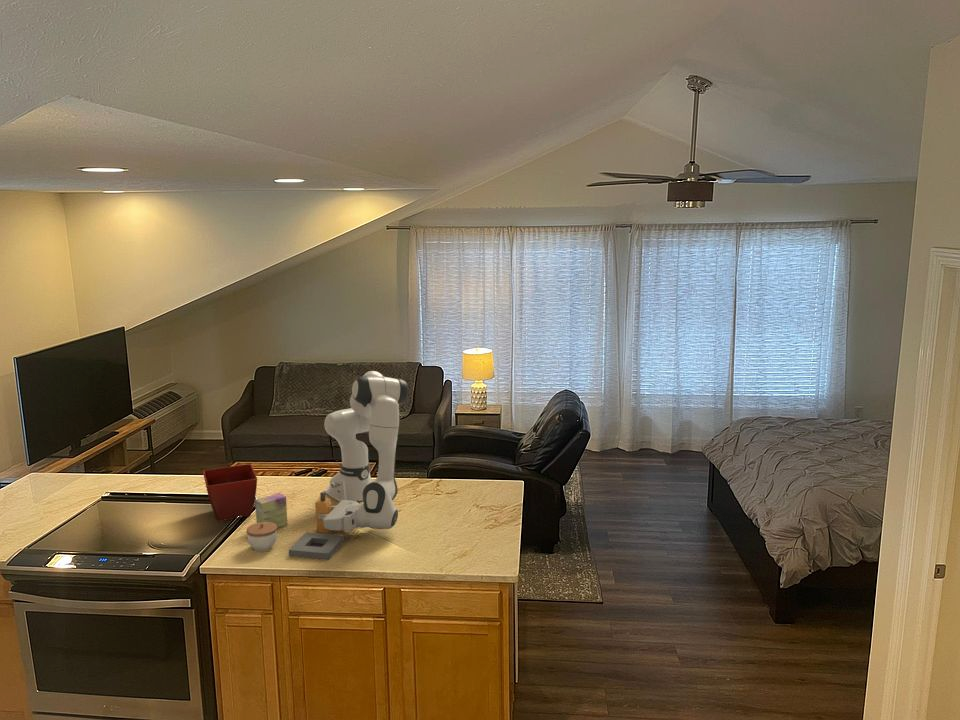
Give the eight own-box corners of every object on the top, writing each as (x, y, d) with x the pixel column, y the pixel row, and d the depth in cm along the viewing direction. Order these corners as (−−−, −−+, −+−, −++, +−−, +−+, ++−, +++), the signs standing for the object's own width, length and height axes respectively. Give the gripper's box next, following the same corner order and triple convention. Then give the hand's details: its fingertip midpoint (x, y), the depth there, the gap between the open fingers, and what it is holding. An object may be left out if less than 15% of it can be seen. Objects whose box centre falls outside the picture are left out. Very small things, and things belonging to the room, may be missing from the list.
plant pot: (209, 526, 285) (206, 485, 282) (205, 508, 302) (202, 470, 299) (259, 518, 293) (257, 478, 290) (253, 501, 310) (251, 463, 307)
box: (280, 520, 291) (278, 492, 289) (287, 524, 287) (286, 496, 285) (256, 528, 284) (254, 499, 282) (263, 532, 280) (261, 503, 278)
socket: (288, 556, 261) (288, 549, 260) (306, 538, 275) (305, 532, 275) (328, 560, 258) (328, 553, 258) (344, 541, 272) (343, 535, 272)
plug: (316, 531, 281) (314, 494, 278) (321, 526, 285) (319, 490, 282) (327, 532, 280) (325, 495, 277) (331, 527, 284) (330, 491, 281)
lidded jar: (278, 552, 264) (277, 527, 262) (247, 555, 261) (245, 531, 259) (277, 539, 274) (276, 516, 272) (247, 543, 271) (246, 519, 269)
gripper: (364, 497, 288) (331, 494, 291) (345, 518, 268) (310, 515, 271) (364, 512, 289) (331, 509, 292) (346, 534, 270) (310, 531, 272)
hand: (321, 512), depth 281 cm, fingers closed on plug, 4 cm apart
